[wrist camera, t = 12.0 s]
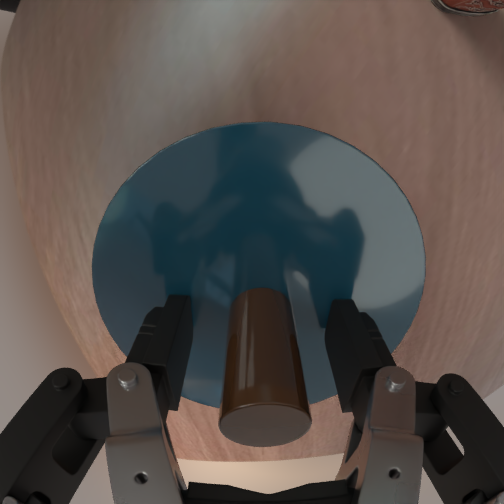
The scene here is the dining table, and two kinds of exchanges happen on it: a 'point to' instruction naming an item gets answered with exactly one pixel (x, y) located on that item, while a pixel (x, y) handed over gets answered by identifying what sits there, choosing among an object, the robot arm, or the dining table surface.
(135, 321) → the pot lid
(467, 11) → the lighter
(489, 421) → the robot arm
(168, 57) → the dining table surface
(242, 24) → the dining table surface
